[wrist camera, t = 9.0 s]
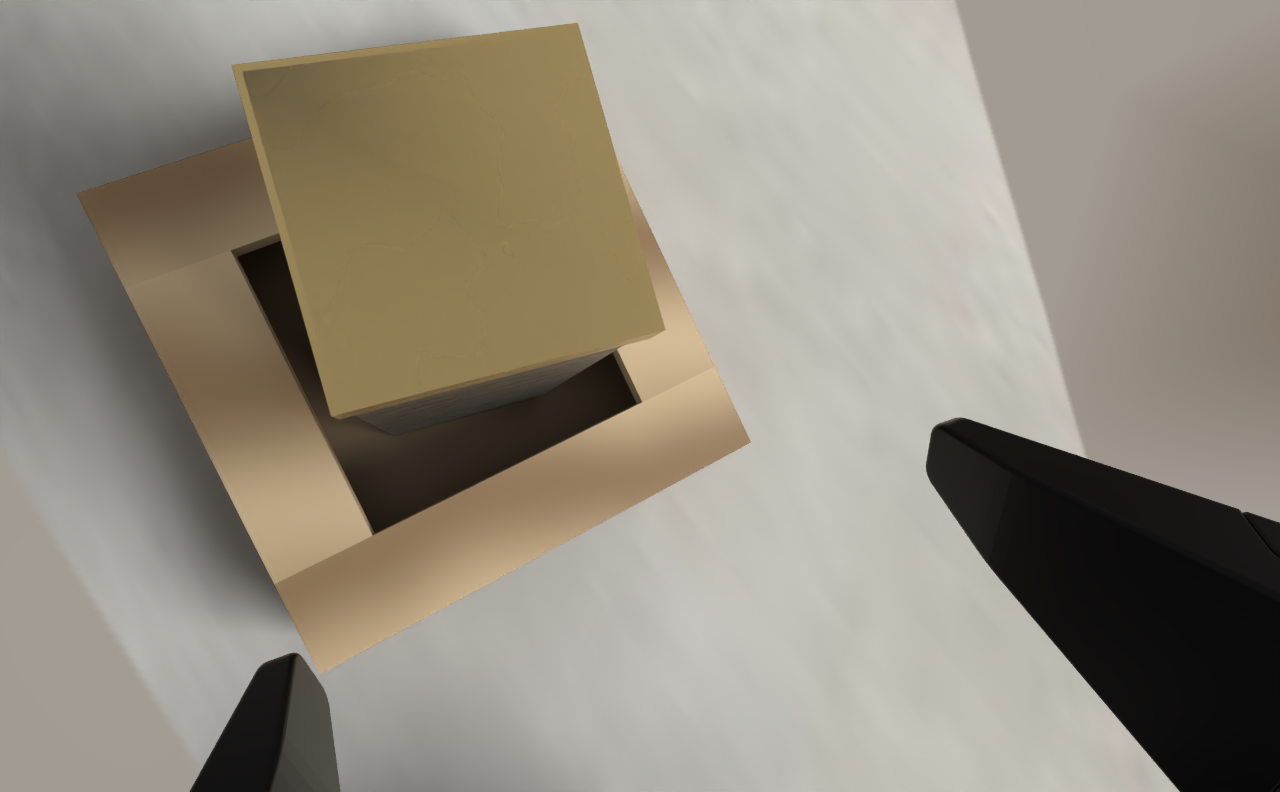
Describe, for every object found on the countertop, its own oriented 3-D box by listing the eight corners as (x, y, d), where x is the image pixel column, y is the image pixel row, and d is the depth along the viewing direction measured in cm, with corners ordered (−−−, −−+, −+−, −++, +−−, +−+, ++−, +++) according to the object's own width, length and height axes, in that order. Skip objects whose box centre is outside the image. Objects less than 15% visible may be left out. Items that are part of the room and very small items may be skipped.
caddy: (703, 444, 25) (750, 442, 21) (340, 635, 22) (319, 674, 18) (541, 104, 25) (560, 38, 21) (142, 241, 21) (76, 193, 17)
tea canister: (542, 399, 23) (665, 329, 11) (392, 440, 22) (331, 416, 9) (502, 258, 23) (577, 22, 11) (350, 291, 22) (231, 65, 9)
